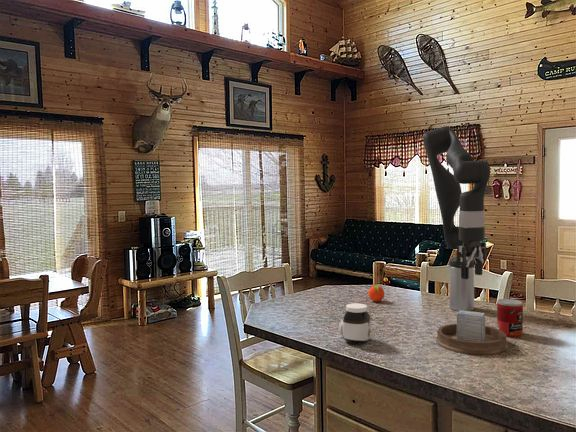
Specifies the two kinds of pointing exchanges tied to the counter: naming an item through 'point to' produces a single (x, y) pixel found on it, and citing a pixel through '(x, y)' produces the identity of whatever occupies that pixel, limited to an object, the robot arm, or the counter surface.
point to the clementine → (376, 293)
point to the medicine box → (471, 326)
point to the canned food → (510, 317)
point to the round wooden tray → (490, 346)
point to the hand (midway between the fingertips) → (471, 276)
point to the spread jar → (356, 324)
